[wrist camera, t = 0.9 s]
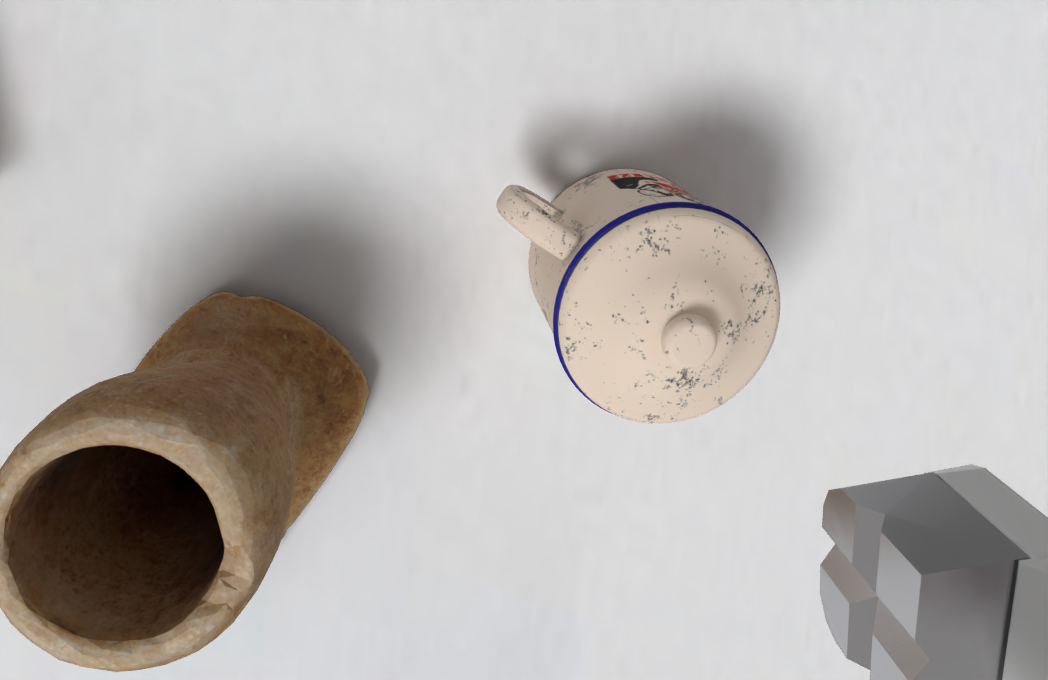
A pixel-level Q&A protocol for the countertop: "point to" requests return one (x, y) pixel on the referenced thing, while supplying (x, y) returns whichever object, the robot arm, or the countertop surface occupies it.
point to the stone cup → (173, 484)
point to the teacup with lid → (648, 293)
